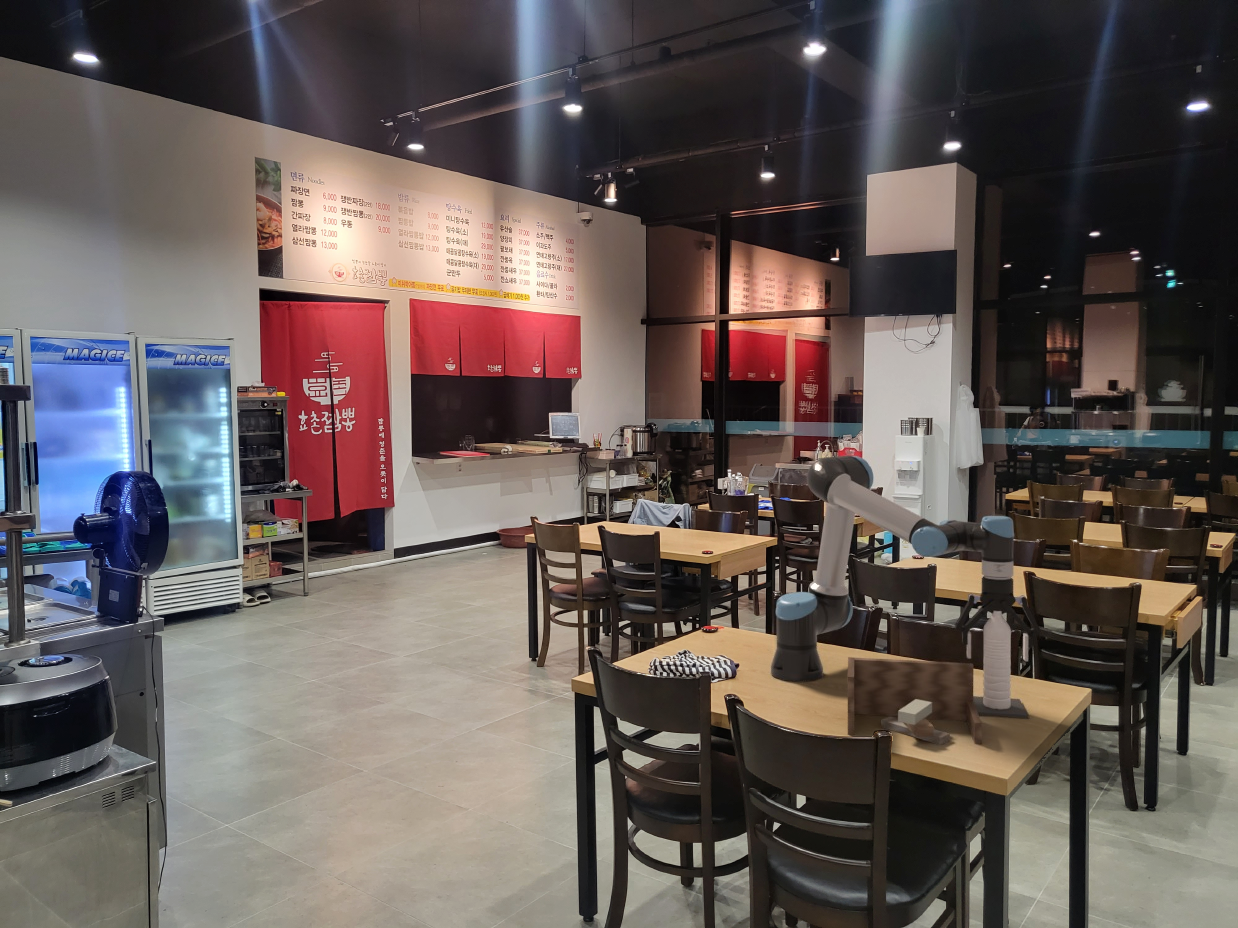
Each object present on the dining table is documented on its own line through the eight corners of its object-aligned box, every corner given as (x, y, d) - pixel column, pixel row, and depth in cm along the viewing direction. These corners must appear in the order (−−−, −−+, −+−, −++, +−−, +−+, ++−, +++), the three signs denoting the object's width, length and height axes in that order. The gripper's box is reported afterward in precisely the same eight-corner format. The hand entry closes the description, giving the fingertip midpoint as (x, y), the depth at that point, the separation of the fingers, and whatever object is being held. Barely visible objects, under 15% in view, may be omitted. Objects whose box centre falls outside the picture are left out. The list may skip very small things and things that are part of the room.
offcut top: (915, 708, 220) (915, 698, 219) (931, 712, 217) (932, 702, 217) (898, 721, 211) (898, 710, 211) (914, 724, 209) (914, 714, 208)
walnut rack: (847, 734, 215) (847, 676, 214) (848, 710, 232) (848, 657, 231) (981, 743, 207) (981, 684, 206) (972, 718, 224) (972, 663, 223)
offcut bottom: (881, 729, 220) (881, 719, 220) (890, 726, 222) (890, 716, 222) (940, 748, 207) (940, 737, 207) (949, 743, 210) (949, 733, 210)
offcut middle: (897, 716, 222) (897, 706, 222) (913, 716, 222) (913, 706, 222) (916, 736, 208) (916, 726, 208) (933, 736, 208) (933, 726, 208)
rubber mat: (972, 714, 227) (972, 711, 227) (966, 698, 239) (966, 695, 239) (1028, 718, 224) (1028, 715, 223) (1019, 701, 236) (1019, 698, 236)
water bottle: (1016, 706, 230) (1016, 610, 228) (999, 711, 226) (999, 613, 225) (986, 698, 237) (987, 604, 236) (970, 702, 234) (970, 607, 233)
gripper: (947, 577, 229) (946, 659, 230) (1053, 580, 223) (1052, 665, 224) (944, 572, 236) (944, 652, 238) (1047, 575, 230) (1046, 656, 231)
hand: (996, 658), depth 231 cm, fingers open, 13 cm apart
